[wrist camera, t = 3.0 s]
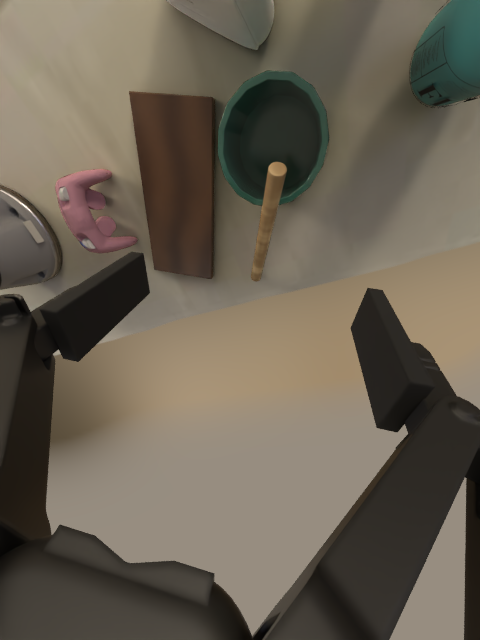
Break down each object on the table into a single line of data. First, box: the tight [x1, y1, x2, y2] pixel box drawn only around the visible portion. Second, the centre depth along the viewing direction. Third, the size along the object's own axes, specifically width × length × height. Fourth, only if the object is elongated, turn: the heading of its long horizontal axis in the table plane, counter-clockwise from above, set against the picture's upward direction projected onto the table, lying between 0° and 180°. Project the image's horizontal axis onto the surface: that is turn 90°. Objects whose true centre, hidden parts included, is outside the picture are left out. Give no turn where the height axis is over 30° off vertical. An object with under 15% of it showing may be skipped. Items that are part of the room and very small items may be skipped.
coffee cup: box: [218, 70, 329, 206], centre depth 23 cm, size 9×9×8 cm
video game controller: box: [55, 169, 138, 253], centre depth 32 cm, size 10×5×7 cm, turn 9°
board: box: [129, 91, 215, 279], centre depth 31 cm, size 9×20×1 cm, turn 175°
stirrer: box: [251, 162, 287, 281], centre depth 27 cm, size 1×13×13 cm
